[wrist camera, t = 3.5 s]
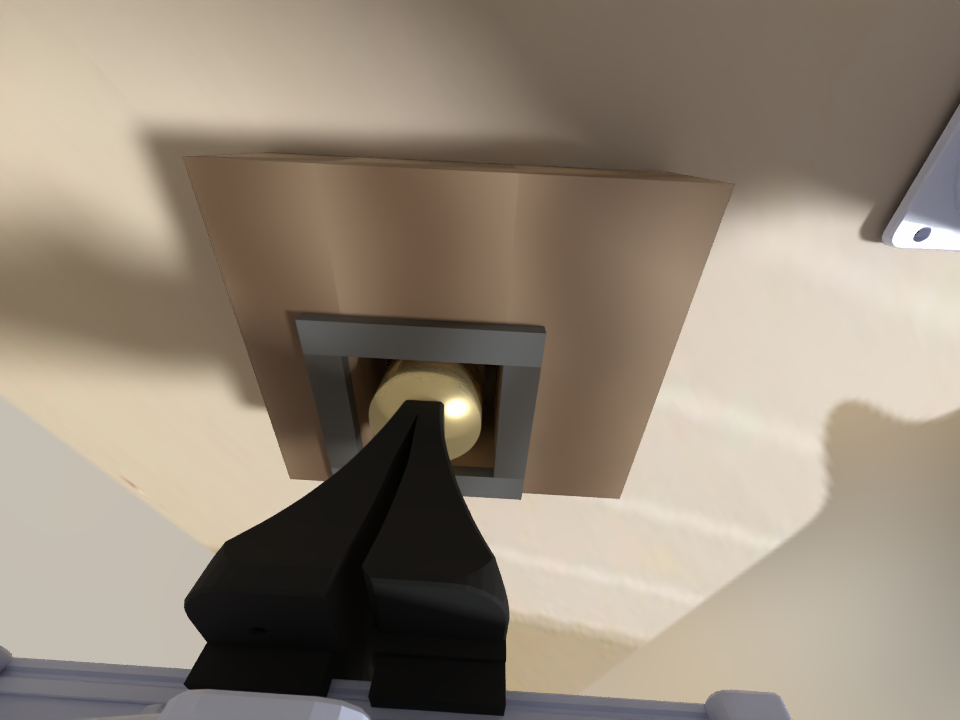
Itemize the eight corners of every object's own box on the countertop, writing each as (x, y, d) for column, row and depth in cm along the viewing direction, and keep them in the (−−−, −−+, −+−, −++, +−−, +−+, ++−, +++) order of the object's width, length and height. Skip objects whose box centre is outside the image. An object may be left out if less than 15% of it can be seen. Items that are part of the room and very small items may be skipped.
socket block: (669, 172, 13) (746, 186, 9) (597, 433, 19) (622, 509, 15) (267, 152, 13) (167, 157, 9) (327, 417, 19) (284, 488, 15)
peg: (486, 324, 15) (483, 379, 12) (482, 399, 18) (478, 465, 14) (393, 319, 16) (362, 372, 12) (400, 394, 18) (375, 459, 14)
